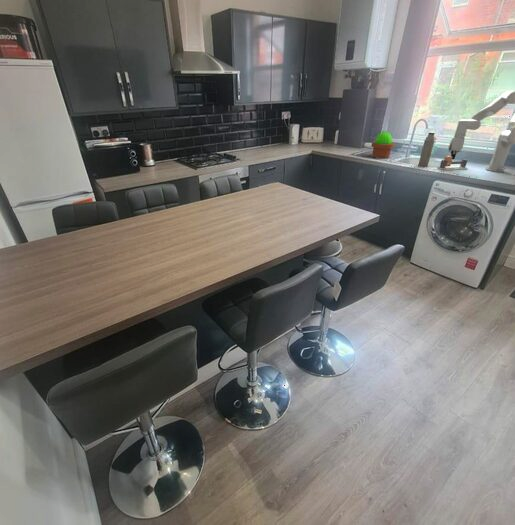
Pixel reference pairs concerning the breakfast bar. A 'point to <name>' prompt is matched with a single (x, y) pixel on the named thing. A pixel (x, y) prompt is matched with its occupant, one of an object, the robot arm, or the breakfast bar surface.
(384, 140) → the potted cactus
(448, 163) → the keeper
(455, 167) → the rail
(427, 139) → the thermos bottle
